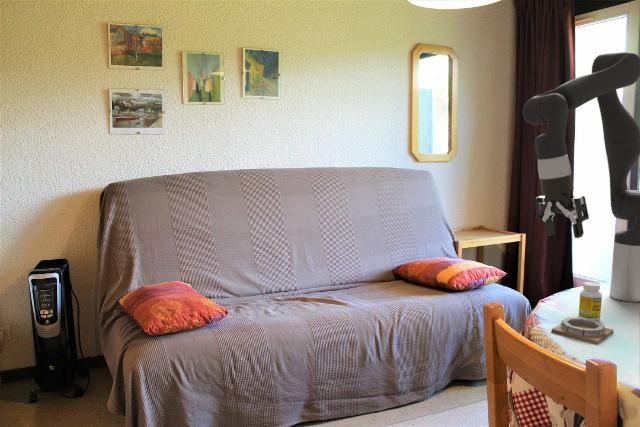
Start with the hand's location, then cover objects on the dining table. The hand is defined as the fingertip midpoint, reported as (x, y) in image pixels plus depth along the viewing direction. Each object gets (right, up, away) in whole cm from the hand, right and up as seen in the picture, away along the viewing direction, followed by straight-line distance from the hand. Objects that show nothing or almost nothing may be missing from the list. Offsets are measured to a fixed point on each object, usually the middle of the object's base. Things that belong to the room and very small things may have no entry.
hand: (564, 236), depth 140 cm
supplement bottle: (+11, -23, +9) cm, 27 cm away
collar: (+4, -24, -2) cm, 25 cm away
